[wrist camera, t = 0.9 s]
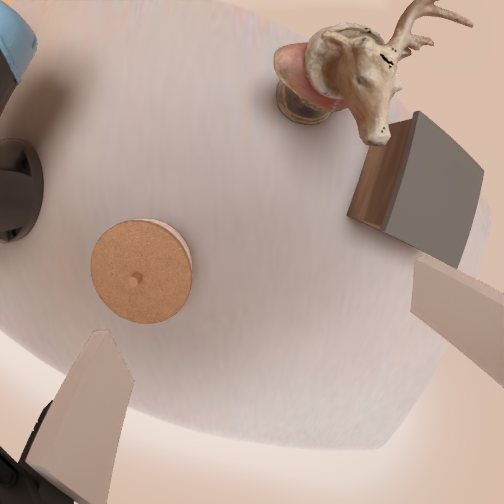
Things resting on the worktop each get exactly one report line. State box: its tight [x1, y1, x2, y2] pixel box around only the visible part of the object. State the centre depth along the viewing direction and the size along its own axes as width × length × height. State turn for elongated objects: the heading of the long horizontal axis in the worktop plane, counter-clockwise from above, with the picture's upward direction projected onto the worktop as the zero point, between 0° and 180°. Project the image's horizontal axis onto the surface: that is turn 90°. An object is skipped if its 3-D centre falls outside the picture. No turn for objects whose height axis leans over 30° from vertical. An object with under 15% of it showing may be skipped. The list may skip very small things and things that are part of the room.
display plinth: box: [347, 111, 484, 269], centre depth 29 cm, size 14×14×10 cm
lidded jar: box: [91, 218, 192, 324], centre depth 27 cm, size 11×11×9 cm
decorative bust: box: [274, 0, 473, 146], centre depth 18 cm, size 11×13×25 cm
